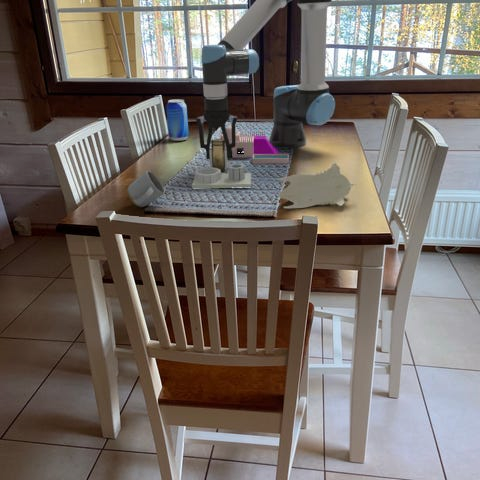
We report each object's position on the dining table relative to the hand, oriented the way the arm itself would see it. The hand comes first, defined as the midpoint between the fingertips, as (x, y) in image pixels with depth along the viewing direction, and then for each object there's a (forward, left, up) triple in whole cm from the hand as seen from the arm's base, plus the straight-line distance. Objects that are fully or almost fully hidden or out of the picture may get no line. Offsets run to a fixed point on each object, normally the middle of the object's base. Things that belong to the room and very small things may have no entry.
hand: (219, 167), depth 158 cm
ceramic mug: (+18, +34, -1) cm, 39 cm away
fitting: (0, 0, -1) cm, 1 cm away
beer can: (+20, -45, -1) cm, 49 cm away
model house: (-12, -15, -1) cm, 19 cm away
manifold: (-2, +14, -1) cm, 14 cm away
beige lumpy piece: (-30, +33, -3) cm, 45 cm away
